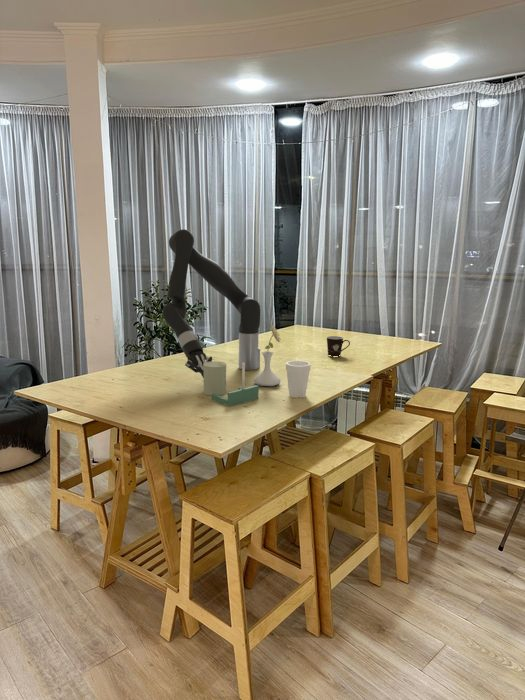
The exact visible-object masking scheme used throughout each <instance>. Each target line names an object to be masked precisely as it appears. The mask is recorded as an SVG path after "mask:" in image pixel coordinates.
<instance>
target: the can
mask: <svg viewBox="0 0 525 700" xmlns="http://www.w3.org/2000/svg"><path fill="white" fill-rule="evenodd" d="M203 371H204V379H203V394H204V395H205V396H211V394H216V395H218V396H223V395H226V394H227V393H228V392H227V363H226V362H223V361H217V360H215V361H214V360H213V361H212V362H206V363H204V364H203Z"/></svg>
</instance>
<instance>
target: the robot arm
mask: <svg viewBox="0 0 525 700" xmlns="http://www.w3.org/2000/svg"><path fill="white" fill-rule="evenodd" d="M194 244H195V238H194V235H193V233H192V232H191V231H190V230H187V229H184V228H183V229H180V230H179V229H178V231H176V232H175V233H173V234H172V235H171V236H170V237H169V238H168V246H169V248H170V249H171V251H172V252H173V253H174V254H175V255H174V256H175V257H174V261H173V267H172V270H171V273H170V276H169V283H168V289H167V290H168V291H167V297H168V299H169V300H171V303H167V304H165V305H164V306H163V309H162V316H163V317H162V318H163V319H164V320H165V322H166V323H167V324H168V326H169V327H170V328H171V329H172V331H173V332H174V334H175V336H176V338H177V340H178V342H179V346H180V348H181V349H182V351H183V354H184V355H185V357H186V358H187V359H186V360H187V361H186V362H185V364H184V366H185V367H187V368H188V369H189V370H191V371H193V372H194V373H196V374H197V373H199V374H201V376H202V378H203V380H204V371H203V364H204V363H206V362H212V360H213V357H212V356H207V355H206V353H204V349H203V347H202V345H201V343H200V341H199V338H198V337H197V336H196V334H195V332H194V331H193V329H192V327H191V325H190V323H189V322H188V321H186V320H185V318H186V316H187V315H186V314H187V306H186V299H185V294H186V293H185V292H186V284H187V274H188V269H189V266H191V268H192V269H193V270H194V271H195V272H196V273H197V274H199V276H200V277H202V279H204V280H205V281H206V283H208V284H209V285H210V286H211V287H212V288H214V290H215V291H217V292H218V293H219V294H221V295H222V296H224V297H225V298H226V299H227V300H228V301H229V302H230V303H231V304H232V306H233V307H234V308H235V309H236V310H237V312H238V313H239V314H240V322H239V323H240V324H239V326H238V369H240V370H242V363H245V371H253V370H257V369H260V368H261V348H260V347H259V339H260V338H259V333H260V332H259V331H260V330H259V329H260V326H261V305H260V303H259V301H258V300H256V299H254V298H252V297H251V296H249V295H248V294H246V293H245V292H244V291H243V290H242V289H241V288H240V287H239V286H238V285H237V284H236V282H235V281H234V280H233V278H232V277H231V276H230V275H229V273H228V272H227V271H226V270H225V269H224V268H223V267H222V266H221V265H220V264H219V263H217V262H216V261H214V260H212V259H210V258H209V257H207V256H205V255H203V254H202V253H200V252H199V251H198V250H197V249H196V248H195V247H194Z"/></svg>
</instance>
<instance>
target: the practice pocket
mask: <svg viewBox="0 0 525 700" xmlns="http://www.w3.org/2000/svg"><path fill="white" fill-rule="evenodd" d="M241 373H242V374H241V386H240V387H237V389H236V390H232V391H228V392H226V394H227V395H226V396H227V398H226V397H224V396H222V395H216V394H211V395H210V396H211V399H212V401H214V402H217V403H219V404H222V405H225V406H227V407H233V406H236V405H240V404H243V403H246V402H251V401H253V400H254V401H255V400H257V399H259V396H260V395H259V392H260V389H259V388H260V387H259V386H260V385H258V384H255V385H252V386H248V387H245V385H246V384H245V383H246V370H245V363H242V369H241Z"/></svg>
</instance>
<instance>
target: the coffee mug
mask: <svg viewBox="0 0 525 700" xmlns="http://www.w3.org/2000/svg"><path fill="white" fill-rule="evenodd" d="M345 342H348V345H347V346H346V347H344V348H343V344H344V343H345ZM326 343H327V344H326V345H327V346H326V347H327V356H328V355H331V356H339V355H340V356H341V354H342V352H343V351H345V350H346V349H347V348H348V347H349V346H350V344H351V341H349V339H344V336H339V335H338V336H337V335H331V336H326Z"/></svg>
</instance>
